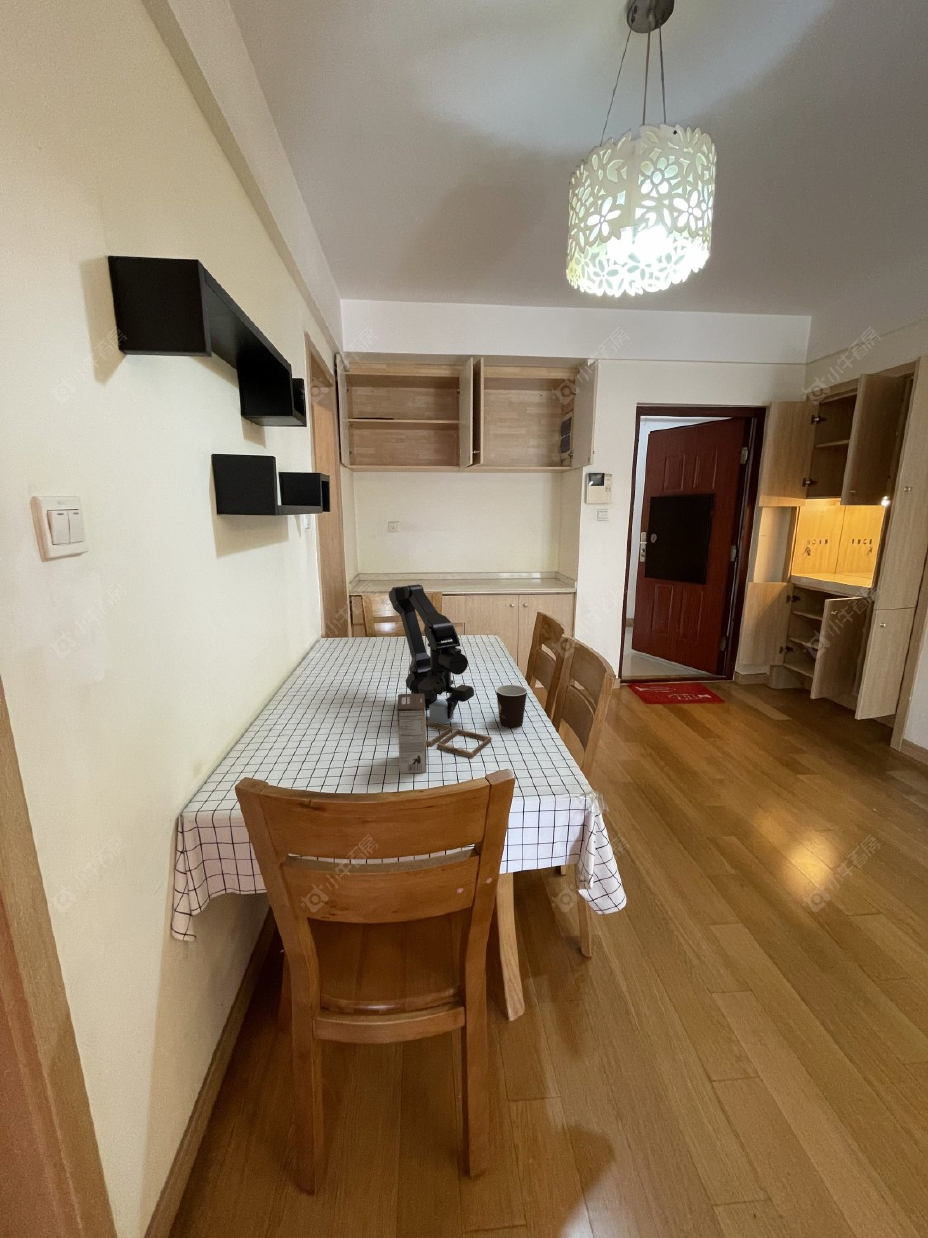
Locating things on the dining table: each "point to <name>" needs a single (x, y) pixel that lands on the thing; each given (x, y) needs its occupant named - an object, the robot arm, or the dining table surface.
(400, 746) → the coffee box
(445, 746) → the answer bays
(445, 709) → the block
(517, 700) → the coffee mug
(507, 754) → the dining table surface
